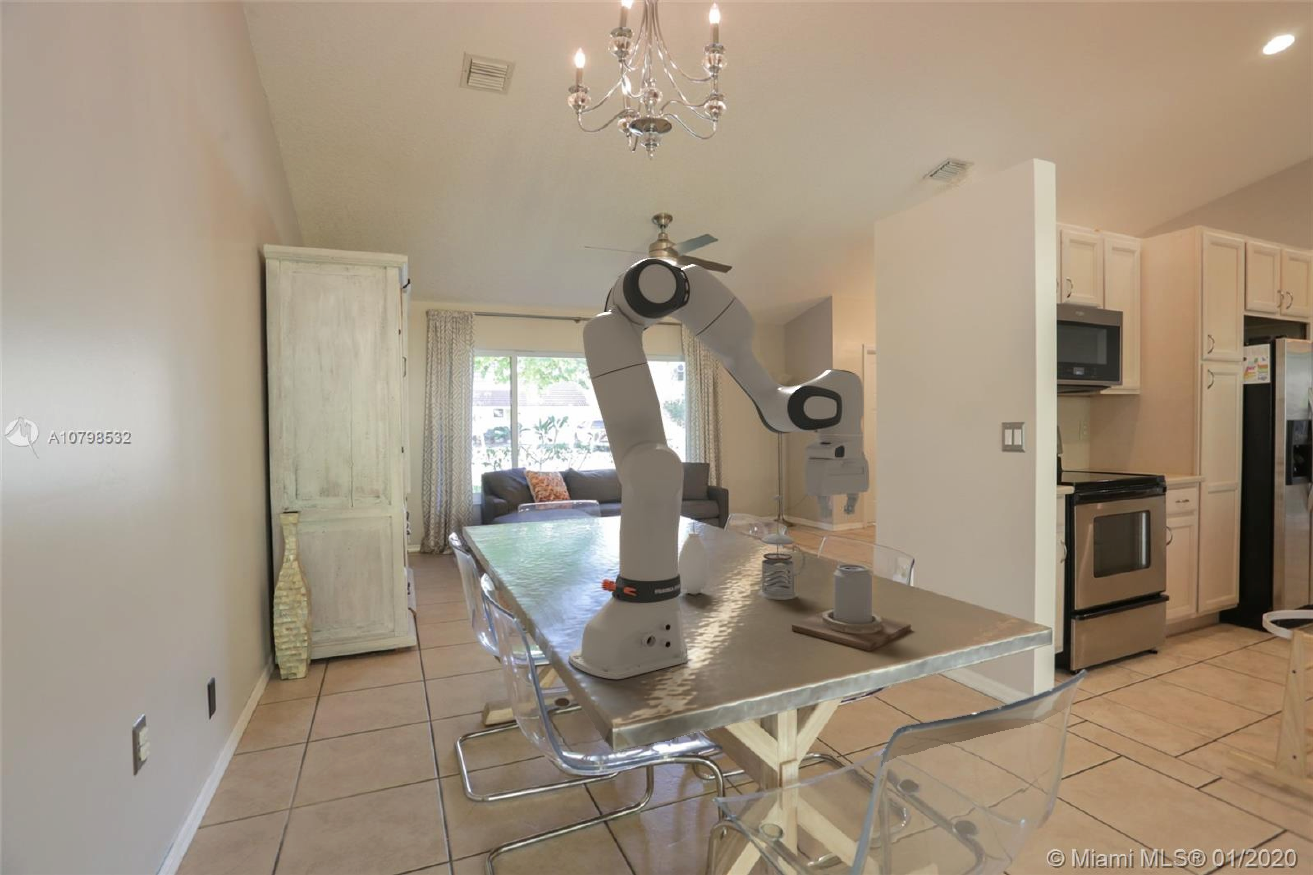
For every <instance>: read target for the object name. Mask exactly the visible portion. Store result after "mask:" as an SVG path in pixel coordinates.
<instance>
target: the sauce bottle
mask: <svg viewBox="0 0 1313 875" xmlns="http://www.w3.org/2000/svg"><path fill="white" fill-rule="evenodd" d="M699 535H700V534H699V532H696V531H695V522H693V523H692V531H690V532H688V536H687V537H686V539H685V541H684V542H683V544H682V547H681V550H680V552H679V555H678V573H679V574H680V583H681V586H682V588H683V589H684V590H686V592H687V593H689V594H690V595H698V594H699V593H701V591H702V590H704V589H705V587H706V586H707V583H708V581H709V576H710V561H709V555H708V553H707V552H708V551H707V548H706V545H705V544H704V542H703V539H701V537H700V536H699Z"/></svg>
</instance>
